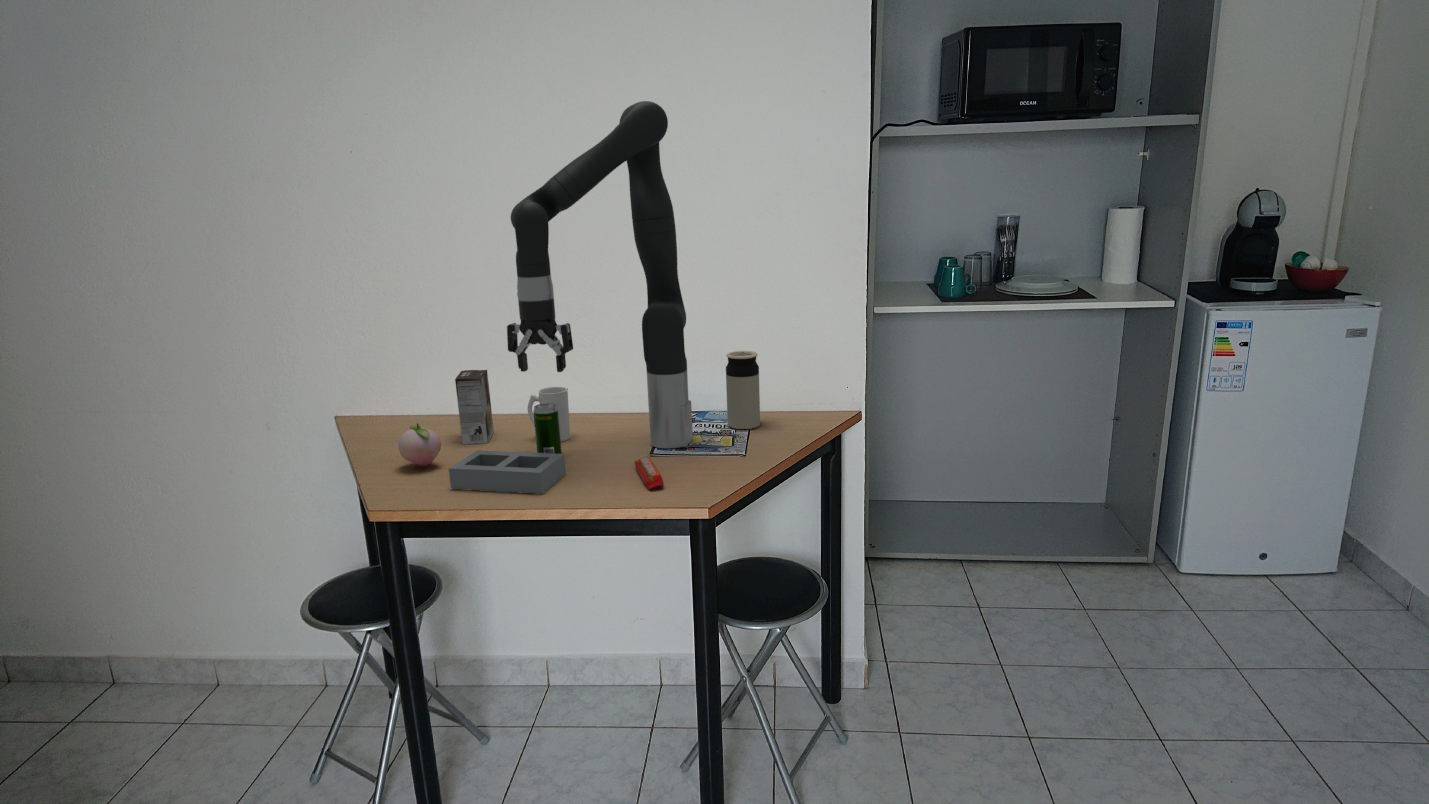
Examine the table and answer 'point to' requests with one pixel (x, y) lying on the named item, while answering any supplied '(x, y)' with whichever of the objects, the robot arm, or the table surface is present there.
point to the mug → (561, 400)
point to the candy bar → (649, 473)
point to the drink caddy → (508, 471)
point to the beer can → (547, 428)
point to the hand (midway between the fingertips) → (542, 371)
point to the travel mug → (742, 390)
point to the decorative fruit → (419, 445)
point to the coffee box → (474, 406)
